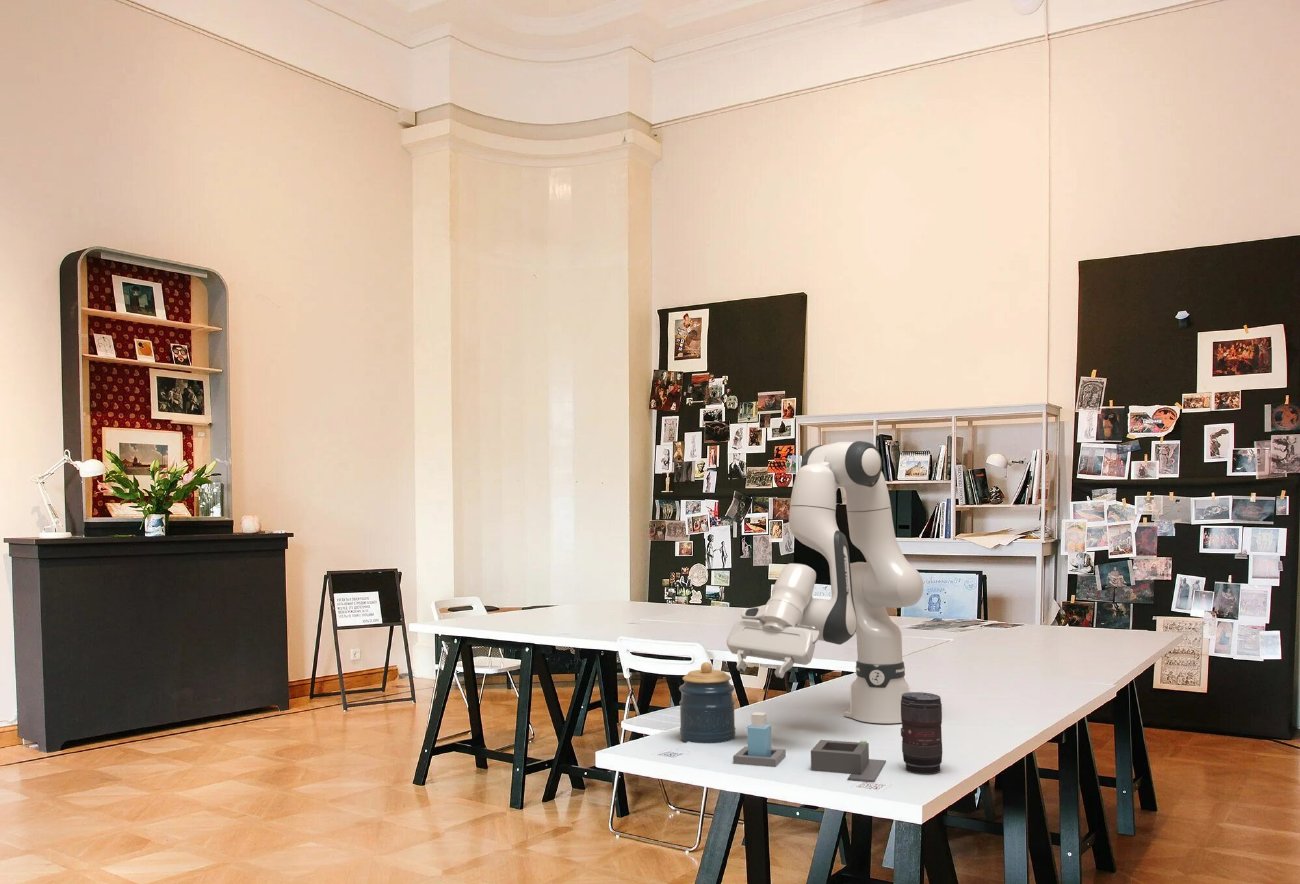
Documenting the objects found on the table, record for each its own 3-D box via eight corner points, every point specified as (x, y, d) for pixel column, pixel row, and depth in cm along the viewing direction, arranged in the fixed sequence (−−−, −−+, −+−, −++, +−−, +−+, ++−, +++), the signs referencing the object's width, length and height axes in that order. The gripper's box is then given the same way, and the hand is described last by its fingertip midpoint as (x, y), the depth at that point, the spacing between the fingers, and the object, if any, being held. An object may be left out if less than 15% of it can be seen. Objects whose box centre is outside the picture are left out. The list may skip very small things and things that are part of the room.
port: (810, 756, 214) (809, 732, 215) (885, 762, 209) (885, 737, 209) (793, 775, 200) (792, 750, 200) (874, 782, 194) (873, 756, 194)
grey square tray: (745, 755, 216) (744, 746, 216) (785, 758, 213) (785, 749, 213) (733, 765, 208) (733, 756, 208) (775, 769, 204) (775, 759, 205)
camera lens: (926, 777, 196) (924, 700, 197) (894, 769, 203) (891, 694, 204) (952, 770, 201) (949, 695, 202) (920, 762, 208) (917, 689, 209)
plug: (753, 756, 213) (752, 711, 214) (771, 758, 211) (770, 712, 212) (748, 761, 209) (747, 715, 210) (766, 762, 208) (765, 716, 208)
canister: (747, 738, 233) (745, 661, 234) (712, 748, 223) (710, 668, 224) (703, 730, 241) (702, 656, 243) (668, 740, 232) (667, 663, 233)
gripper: (825, 636, 224) (806, 688, 216) (745, 625, 235) (724, 674, 227) (818, 619, 220) (798, 671, 212) (736, 608, 232) (714, 658, 224)
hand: (759, 672), depth 220 cm, fingers open, 8 cm apart
